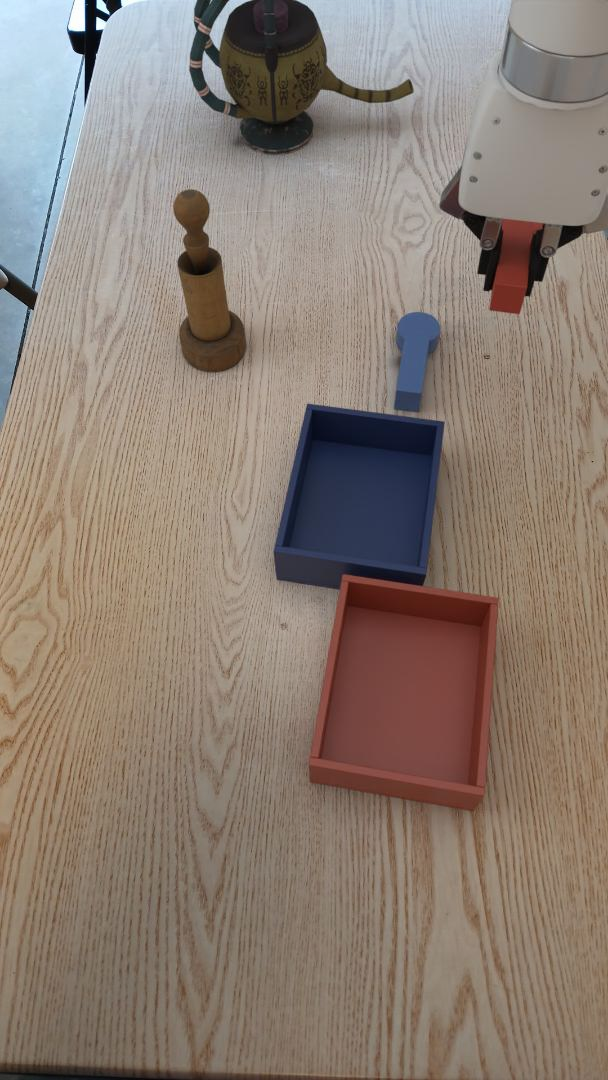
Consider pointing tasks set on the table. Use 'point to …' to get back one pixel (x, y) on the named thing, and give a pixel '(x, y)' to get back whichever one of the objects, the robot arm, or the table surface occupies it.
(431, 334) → the blue spoon
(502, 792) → the table surface
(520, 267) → the red spoon
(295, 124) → the teapot
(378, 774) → the red bin
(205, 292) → the mortar and pestle
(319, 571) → the blue bin
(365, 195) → the table surface
